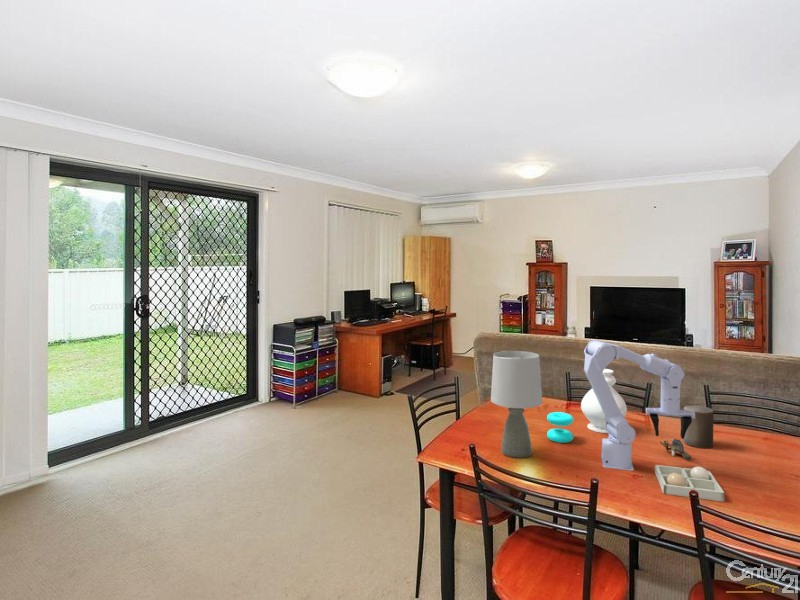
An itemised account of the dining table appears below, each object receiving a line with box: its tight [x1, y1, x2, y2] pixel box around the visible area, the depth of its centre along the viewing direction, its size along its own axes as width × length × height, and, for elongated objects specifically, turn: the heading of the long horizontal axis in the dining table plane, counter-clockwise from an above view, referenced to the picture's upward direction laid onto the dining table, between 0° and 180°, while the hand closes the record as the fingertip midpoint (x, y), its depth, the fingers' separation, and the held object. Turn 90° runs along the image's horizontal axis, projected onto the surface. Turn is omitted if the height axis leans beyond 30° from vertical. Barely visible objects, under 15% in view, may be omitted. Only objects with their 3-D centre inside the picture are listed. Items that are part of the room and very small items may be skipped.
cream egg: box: [690, 466, 709, 480], centre depth 144 cm, size 5×5×5 cm
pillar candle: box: [683, 405, 715, 449], centre depth 177 cm, size 10×10×15 cm
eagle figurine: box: [659, 437, 692, 461], centre depth 166 cm, size 8×7×9 cm
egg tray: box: [654, 464, 725, 503], centre depth 142 cm, size 15×15×3 cm
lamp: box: [490, 350, 543, 459], centre depth 171 cm, size 19×19×37 cm
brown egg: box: [667, 473, 686, 487], centre depth 140 cm, size 5×5×5 cm
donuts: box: [546, 411, 574, 444], centre depth 184 cm, size 10×10×10 cm
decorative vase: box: [580, 368, 628, 434], centre depth 196 cm, size 18×18×25 cm
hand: (669, 436), depth 158 cm, fingers open, 7 cm apart
